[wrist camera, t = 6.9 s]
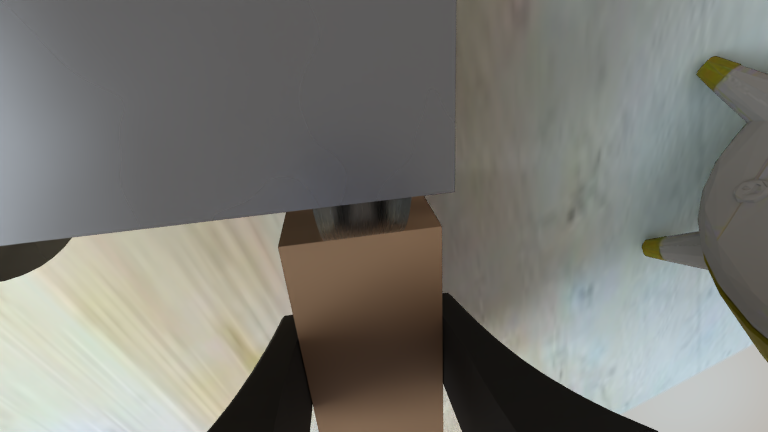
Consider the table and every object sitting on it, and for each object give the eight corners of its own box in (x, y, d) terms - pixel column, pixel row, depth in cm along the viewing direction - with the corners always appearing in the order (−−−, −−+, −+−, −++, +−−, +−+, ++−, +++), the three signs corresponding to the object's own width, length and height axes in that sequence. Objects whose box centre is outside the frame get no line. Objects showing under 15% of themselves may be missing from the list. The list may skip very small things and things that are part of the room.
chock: (291, 187, 13) (277, 247, 9) (410, 173, 13) (441, 226, 10) (325, 363, 16) (324, 456, 13) (418, 349, 17) (443, 435, 13)
